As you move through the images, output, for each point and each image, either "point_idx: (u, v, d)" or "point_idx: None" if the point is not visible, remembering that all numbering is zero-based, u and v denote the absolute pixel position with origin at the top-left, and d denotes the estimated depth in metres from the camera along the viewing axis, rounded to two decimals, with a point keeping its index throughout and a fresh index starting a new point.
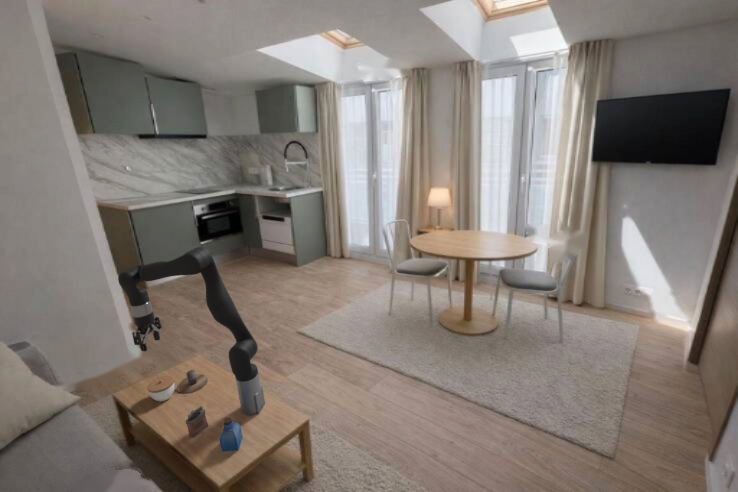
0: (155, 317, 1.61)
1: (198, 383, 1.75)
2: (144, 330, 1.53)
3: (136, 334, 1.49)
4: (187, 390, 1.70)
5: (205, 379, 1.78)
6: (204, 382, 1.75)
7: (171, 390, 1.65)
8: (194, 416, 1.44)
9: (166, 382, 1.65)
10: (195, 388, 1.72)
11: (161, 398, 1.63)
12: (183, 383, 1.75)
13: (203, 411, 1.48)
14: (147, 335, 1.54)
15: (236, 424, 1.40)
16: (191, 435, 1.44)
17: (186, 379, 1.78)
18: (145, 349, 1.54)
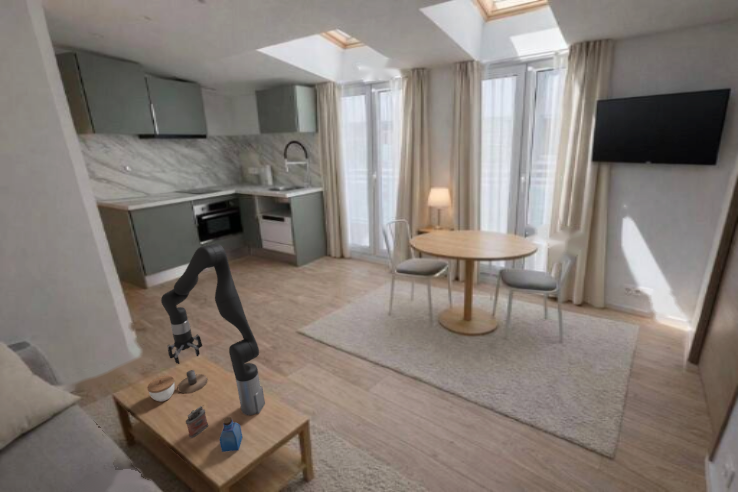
0: (169, 345, 1.65)
1: (198, 383, 1.75)
2: None
3: (198, 335, 1.73)
4: (187, 390, 1.70)
5: (205, 379, 1.78)
6: (204, 382, 1.75)
7: (171, 390, 1.65)
8: (194, 416, 1.44)
9: (166, 382, 1.65)
10: (195, 388, 1.72)
11: (161, 398, 1.63)
12: (183, 383, 1.75)
13: (203, 411, 1.48)
14: None
15: (236, 424, 1.40)
16: (191, 435, 1.44)
17: (186, 379, 1.78)
18: None
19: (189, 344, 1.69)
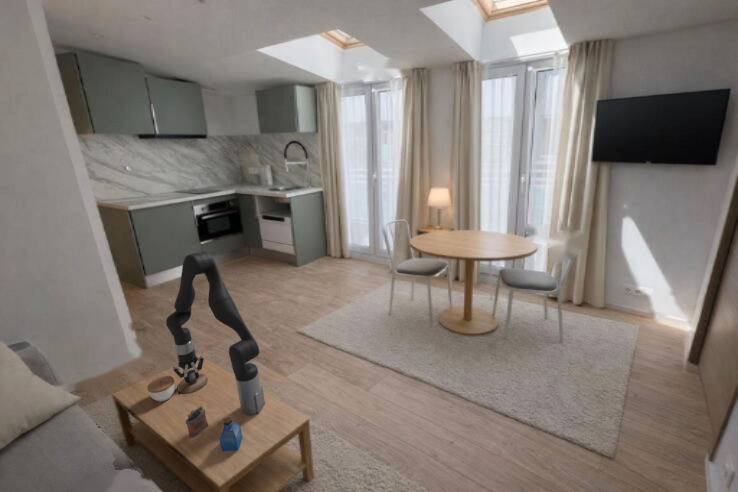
0: (174, 367, 1.68)
1: (198, 382, 1.75)
2: None
3: None
4: (187, 390, 1.70)
5: (205, 378, 1.78)
6: (204, 381, 1.75)
7: (171, 390, 1.65)
8: (194, 416, 1.44)
9: (167, 382, 1.65)
10: (195, 387, 1.71)
11: (161, 398, 1.63)
12: (183, 383, 1.75)
13: (203, 411, 1.48)
14: None
15: (236, 424, 1.40)
16: (191, 435, 1.44)
17: None
18: None
19: (192, 364, 1.72)
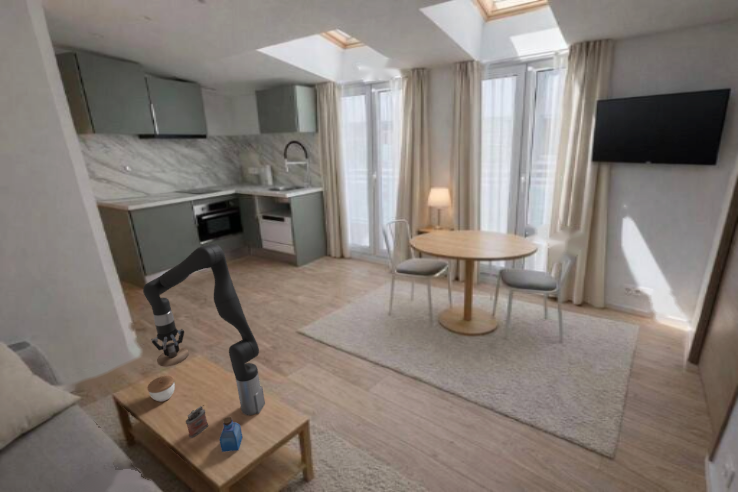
0: (152, 339, 1.60)
1: (178, 356, 1.67)
2: None
3: None
4: (166, 363, 1.62)
5: (186, 352, 1.69)
6: (184, 355, 1.67)
7: (171, 390, 1.65)
8: (194, 416, 1.44)
9: (167, 382, 1.65)
10: (174, 361, 1.63)
11: (161, 398, 1.63)
12: (162, 356, 1.67)
13: (203, 411, 1.48)
14: None
15: (236, 424, 1.40)
16: (191, 435, 1.44)
17: None
18: None
19: (172, 336, 1.63)
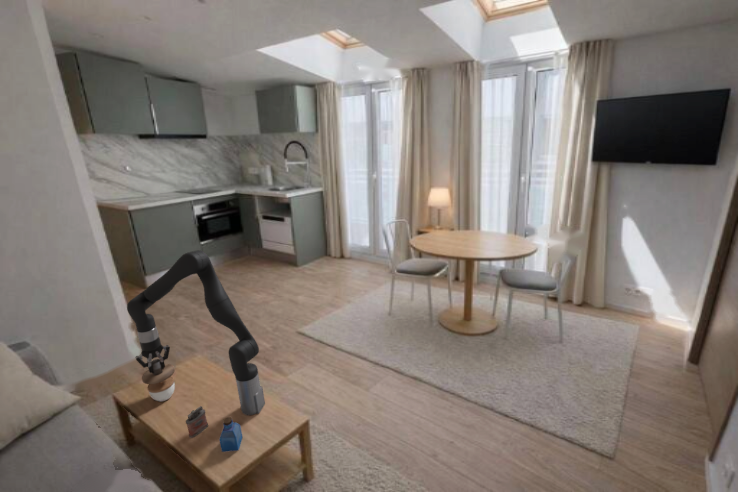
0: (136, 356, 1.57)
1: (164, 373, 1.63)
2: None
3: None
4: (151, 380, 1.59)
5: (172, 369, 1.66)
6: (170, 372, 1.64)
7: (171, 390, 1.65)
8: (194, 416, 1.44)
9: (167, 382, 1.65)
10: (160, 378, 1.60)
11: (161, 398, 1.63)
12: (147, 373, 1.63)
13: (203, 411, 1.48)
14: None
15: (236, 424, 1.40)
16: (191, 435, 1.44)
17: None
18: None
19: (157, 353, 1.60)
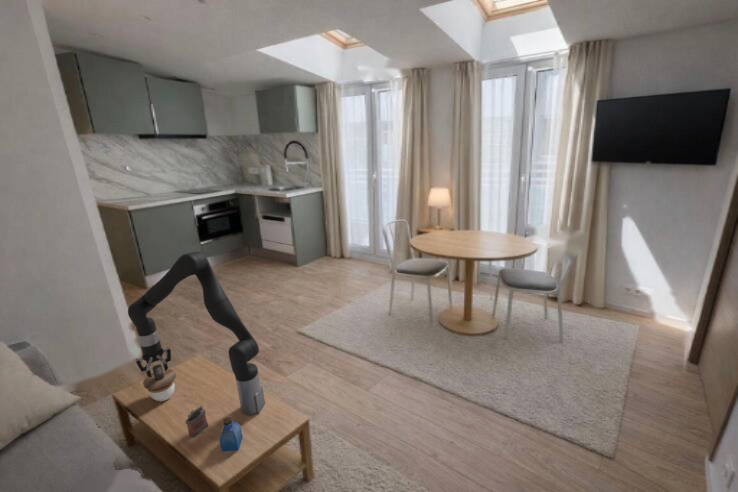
0: (137, 359, 1.57)
1: (165, 378, 1.64)
2: None
3: (169, 349, 1.66)
4: (152, 385, 1.60)
5: (173, 374, 1.67)
6: (171, 377, 1.65)
7: (171, 390, 1.65)
8: (194, 416, 1.44)
9: None
10: (161, 383, 1.61)
11: (161, 398, 1.63)
12: (148, 379, 1.64)
13: (203, 411, 1.48)
14: None
15: (236, 424, 1.40)
16: (191, 435, 1.44)
17: (153, 374, 1.67)
18: None
19: (158, 356, 1.61)
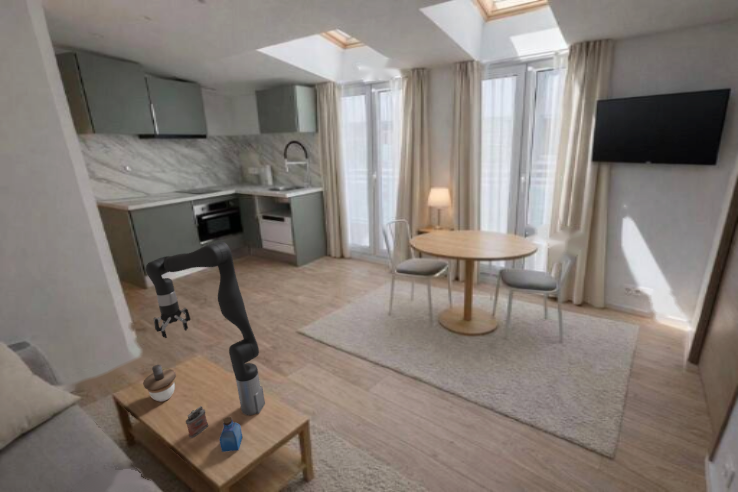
0: (155, 318, 1.59)
1: (165, 378, 1.64)
2: None
3: (186, 309, 1.67)
4: (152, 386, 1.60)
5: (173, 374, 1.67)
6: (171, 377, 1.65)
7: (171, 390, 1.65)
8: (194, 416, 1.44)
9: None
10: (161, 384, 1.61)
11: (161, 398, 1.63)
12: (148, 379, 1.64)
13: (203, 411, 1.48)
14: None
15: (236, 424, 1.40)
16: (191, 435, 1.44)
17: (153, 374, 1.67)
18: None
19: (176, 317, 1.62)
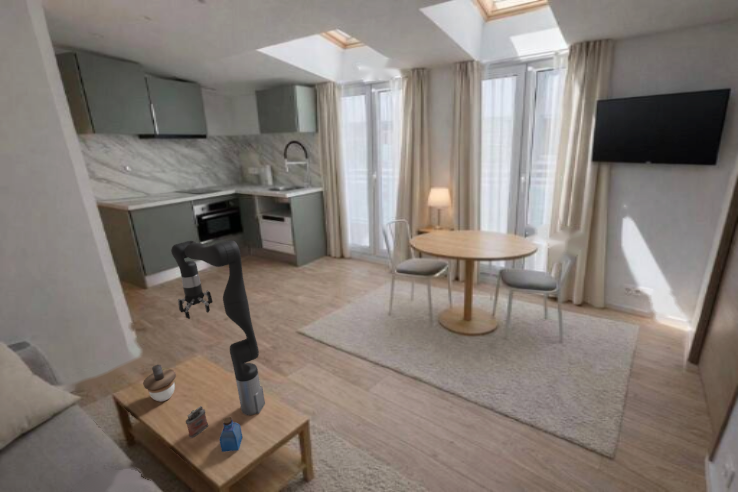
0: (180, 299, 1.64)
1: (165, 378, 1.64)
2: None
3: None
4: (152, 386, 1.60)
5: (173, 374, 1.67)
6: (171, 377, 1.65)
7: (171, 390, 1.65)
8: (194, 416, 1.44)
9: None
10: (161, 384, 1.61)
11: (161, 398, 1.63)
12: (148, 379, 1.64)
13: (203, 411, 1.48)
14: None
15: (236, 424, 1.40)
16: (191, 435, 1.44)
17: (153, 374, 1.67)
18: None
19: (199, 299, 1.68)
